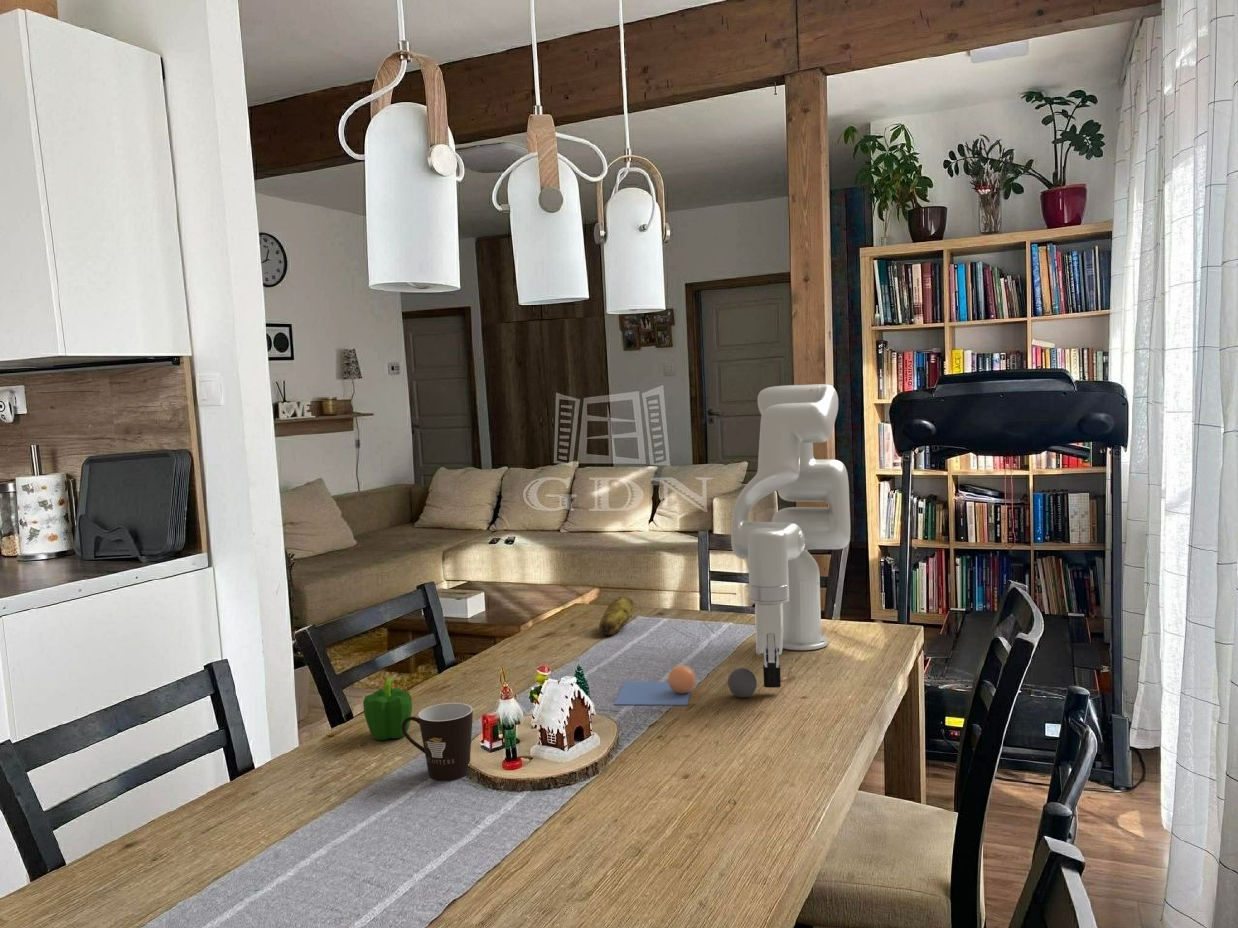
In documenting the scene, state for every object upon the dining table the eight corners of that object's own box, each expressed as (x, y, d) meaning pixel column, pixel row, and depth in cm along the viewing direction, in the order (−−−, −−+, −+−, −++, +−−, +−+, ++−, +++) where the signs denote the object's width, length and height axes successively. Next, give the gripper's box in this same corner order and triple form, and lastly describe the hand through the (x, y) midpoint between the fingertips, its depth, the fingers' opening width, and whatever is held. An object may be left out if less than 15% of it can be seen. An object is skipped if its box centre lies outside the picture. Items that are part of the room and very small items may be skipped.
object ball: (702, 675, 186) (683, 694, 187) (682, 656, 186) (663, 675, 187) (700, 683, 181) (681, 703, 181) (679, 663, 181) (660, 683, 182)
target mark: (624, 682, 193) (624, 681, 193) (692, 682, 191) (692, 681, 191) (614, 704, 179) (614, 703, 179) (687, 705, 177) (687, 704, 177)
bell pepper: (398, 746, 162) (394, 689, 162) (357, 742, 165) (353, 687, 164) (423, 729, 170) (419, 675, 170) (383, 726, 173) (380, 673, 172)
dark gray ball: (756, 663, 182) (750, 685, 184) (728, 661, 181) (723, 683, 183) (762, 681, 177) (756, 704, 179) (733, 680, 176) (728, 702, 179)
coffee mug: (487, 770, 150) (484, 709, 149) (443, 788, 144) (439, 725, 143) (443, 753, 158) (440, 696, 157) (400, 770, 152) (396, 710, 151)
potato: (586, 634, 233) (584, 602, 233) (621, 623, 243) (620, 593, 242) (610, 639, 228) (608, 606, 227) (645, 628, 237) (644, 596, 237)
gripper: (749, 585, 188) (752, 674, 189) (749, 601, 173) (752, 698, 174) (787, 584, 187) (790, 674, 188) (790, 601, 172) (793, 698, 173)
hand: (772, 685), depth 181 cm, fingers closed
